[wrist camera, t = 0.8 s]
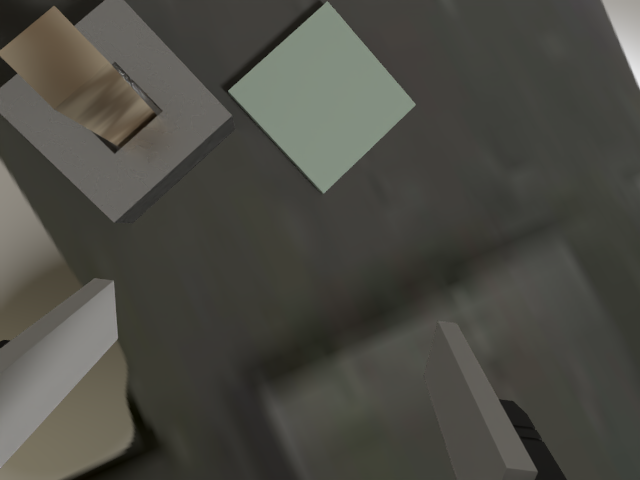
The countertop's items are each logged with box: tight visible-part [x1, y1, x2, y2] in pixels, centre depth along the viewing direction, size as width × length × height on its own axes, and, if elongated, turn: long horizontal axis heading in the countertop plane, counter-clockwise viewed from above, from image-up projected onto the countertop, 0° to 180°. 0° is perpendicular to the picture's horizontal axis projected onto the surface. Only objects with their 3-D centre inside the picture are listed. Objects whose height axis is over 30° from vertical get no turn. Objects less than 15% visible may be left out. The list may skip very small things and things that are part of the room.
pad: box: [228, 1, 416, 194], centre depth 41 cm, size 14×14×1 cm
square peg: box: [0, 6, 157, 148], centre depth 30 cm, size 4×4×14 cm
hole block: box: [0, 0, 235, 223], centre depth 36 cm, size 14×14×5 cm
